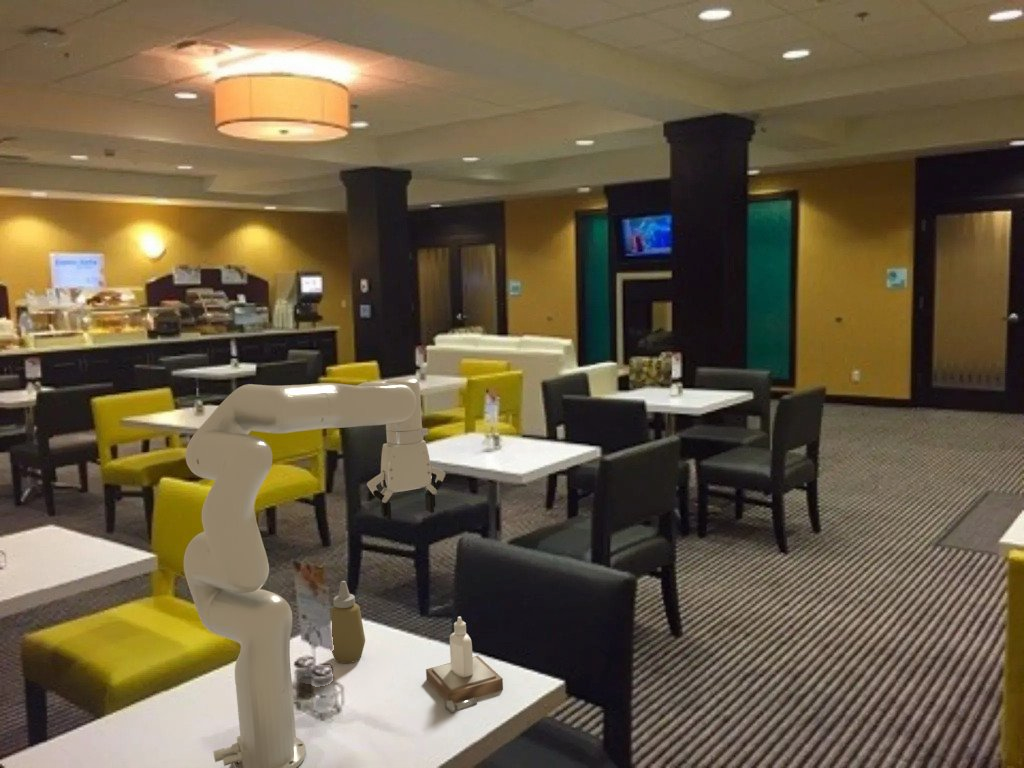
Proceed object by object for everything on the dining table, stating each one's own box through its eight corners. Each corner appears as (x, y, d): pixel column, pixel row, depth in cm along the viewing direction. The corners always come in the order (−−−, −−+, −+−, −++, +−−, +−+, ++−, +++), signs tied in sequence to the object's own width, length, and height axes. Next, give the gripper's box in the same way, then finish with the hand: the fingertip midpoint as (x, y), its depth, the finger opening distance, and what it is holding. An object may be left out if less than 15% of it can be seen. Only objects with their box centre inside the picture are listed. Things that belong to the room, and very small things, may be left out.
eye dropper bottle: (452, 679, 175) (449, 623, 173) (450, 667, 181) (448, 612, 179) (473, 677, 176) (471, 621, 174) (471, 665, 181) (469, 610, 179)
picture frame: (449, 707, 171) (448, 691, 170) (426, 682, 181) (425, 667, 181) (503, 692, 176) (502, 676, 176) (478, 668, 187) (477, 653, 186)
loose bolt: (451, 716, 167) (450, 704, 167) (445, 711, 170) (444, 699, 169) (478, 707, 170) (477, 695, 170) (472, 703, 173) (471, 690, 172)
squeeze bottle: (328, 653, 197) (322, 578, 194) (363, 647, 199) (358, 573, 196) (331, 669, 189) (326, 590, 186) (368, 662, 191) (363, 585, 189)
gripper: (435, 428, 189) (439, 504, 191) (359, 438, 181) (364, 517, 183) (449, 434, 182) (453, 512, 185) (370, 445, 174) (375, 526, 177)
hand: (409, 515), depth 184 cm, fingers open, 9 cm apart
